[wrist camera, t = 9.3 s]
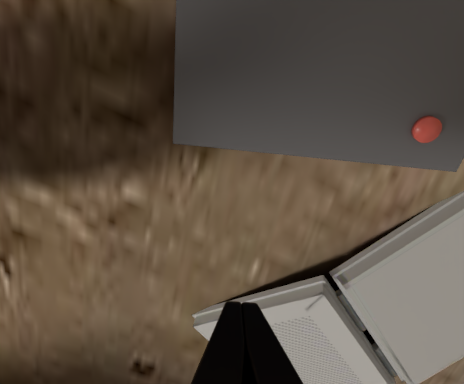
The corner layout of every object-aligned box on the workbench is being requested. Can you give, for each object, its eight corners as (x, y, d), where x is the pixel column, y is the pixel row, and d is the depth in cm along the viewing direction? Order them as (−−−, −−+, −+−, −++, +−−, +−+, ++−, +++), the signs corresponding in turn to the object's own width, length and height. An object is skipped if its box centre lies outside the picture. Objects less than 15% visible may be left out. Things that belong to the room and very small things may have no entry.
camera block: (181, 119, 18) (171, 146, 15) (189, -88, 14) (177, -113, 11) (433, 145, 20) (475, 176, 16) (518, -39, 15) (599, -48, 12)
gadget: (478, 175, 21) (521, 207, 18) (516, 307, 28) (553, 346, 25) (192, 308, 28) (187, 349, 24) (278, 390, 34) (284, 430, 31)
